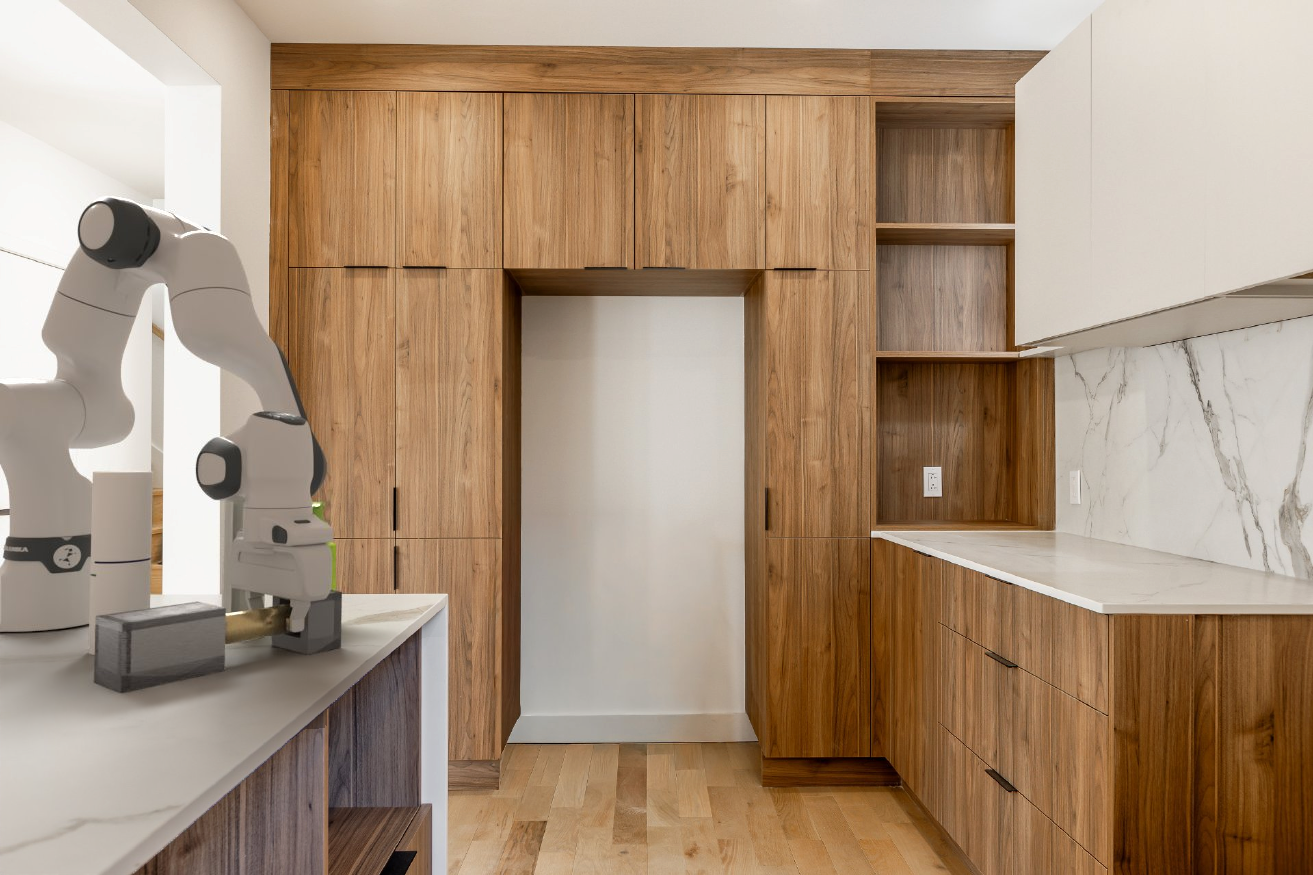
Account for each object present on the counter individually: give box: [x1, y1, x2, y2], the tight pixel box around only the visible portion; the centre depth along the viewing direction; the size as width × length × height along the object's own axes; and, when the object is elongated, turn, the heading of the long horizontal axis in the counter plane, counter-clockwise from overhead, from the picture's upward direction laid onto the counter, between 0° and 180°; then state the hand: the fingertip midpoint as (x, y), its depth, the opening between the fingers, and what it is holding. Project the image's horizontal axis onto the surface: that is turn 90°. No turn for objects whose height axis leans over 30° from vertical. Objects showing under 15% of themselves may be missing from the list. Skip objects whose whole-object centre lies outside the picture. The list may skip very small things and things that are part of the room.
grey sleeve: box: [93, 601, 226, 694], centre depth 101 cm, size 12×7×8 cm, turn 145°
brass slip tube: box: [225, 604, 301, 646], centre depth 111 cm, size 16×5×5 cm, turn 145°
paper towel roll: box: [221, 501, 266, 614], centre depth 127 cm, size 7×6×21 cm
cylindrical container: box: [88, 470, 154, 656], centre depth 115 cm, size 7×7×25 cm
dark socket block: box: [271, 590, 343, 655], centre depth 118 cm, size 5×9×8 cm, turn 55°
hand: (276, 626), depth 114 cm, fingers open, 8 cm apart
